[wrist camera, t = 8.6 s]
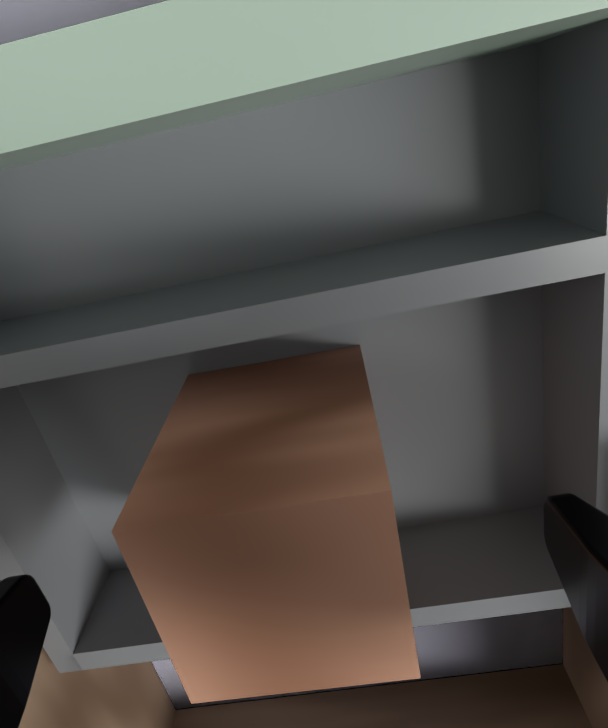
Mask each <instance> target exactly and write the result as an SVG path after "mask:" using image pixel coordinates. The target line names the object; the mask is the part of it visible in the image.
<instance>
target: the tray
mask: <svg viewBox="0 0 608 728" xmlns="http://www.w3.org/2000/svg"><path fill="white" fill-rule="evenodd" d="M357 345H360V347H361V352H362V356H363V361H364V366H365V370H366V375H367V379H368V384H369V389H370V393H371V398H372V403H373V407H374V412H375V416H376V421H377V426H378V430H379V435H380V440H381V444H382V449H383V453H384V458H385V463H386V467H387V472H388V477H389V481H390V486H391V491H392V497H393V503H394V510H395V516H396V523H397V529H398V535H399V542H400V548H401V555H402V561H403V567H404V574H405V580H406V587H407V593H408V599H409V606H410V612H411V619H412V625H413V627H421V626H428V625H436V624H444V623H452V622H459V621H467V620H475V619H482V618H490V617H498V616H506V615H513V614H521V613H529V612H537V611H544V610H552V609H560V608H568V607H571V605H570V603H569V600H568V598H567V595H566V593H565V590H564V588H563V586H562V583H561V581H560V578H559V576H558V573H557V571H556V569H555V566H554V564H553V561H552V559H551V556H550V554H549V552H548V549H547V546H546V543H545V538H544V508H543V504H544V500H545V498H546V497H547V496H550V495H557V494H564V493H571V494H574V495H576V496H578V497H579V498H581V499H583V500H584V501H586V502H587V503H589V504H591V505H592V506H594V507H596V508H597V509H599V510H601V511H602V512H604V513H606V514H607V515H608V0H168V1H164V2H160V3H156V4H152V5H149V6H145V7H141V8H137V9H133V10H130V11H126V12H122V13H118V14H115V15H111V16H107V17H103V18H99V19H96V20H92V21H88V22H84V23H80V24H77V25H73V26H69V27H65V28H62V29H58V30H54V31H50V32H46V33H43V34H39V35H35V36H31V37H27V38H24V39H20V40H16V41H12V42H9V43H5V44H1V45H0V580H1V581H2V580H3V579H5V578H7V577H11V576H17V575H24V574H27V575H31V576H32V577H33V578H34V579H35V580H36V582H37V584H38V585H39V587H40V589H41V590H42V592H43V594H44V595H45V597H46V599H47V601H48V602H49V604H50V608H51V618H50V622H49V626H48V630H47V633H46V637H45V640H44V644H43V648H44V649H45V651H46V652H47V654H48V656H49V657H50V659H51V660H52V662H53V664H54V665H55V667H56V668H57V670H58V671H59V673H65V672H73V671H80V670H88V669H96V668H103V667H111V666H119V665H127V664H134V663H142V662H150V661H158V660H165V659H170V657H169V654H168V652H167V650H166V648H165V646H164V644H163V642H162V639H161V637H160V635H159V633H158V631H157V629H156V626H155V624H154V622H153V620H152V618H151V616H150V614H149V611H148V609H147V607H146V605H145V603H144V601H143V598H142V596H141V594H140V592H139V590H138V588H137V586H136V583H135V581H134V579H133V577H132V575H131V573H130V570H129V568H128V566H127V564H126V562H125V560H124V557H123V555H122V553H121V551H120V549H119V547H118V545H117V542H116V540H115V538H114V536H113V534H112V532H111V531H112V529H113V527H114V525H115V523H116V521H117V519H118V517H119V515H120V513H121V511H122V509H123V507H124V505H125V503H126V500H127V498H128V496H129V494H130V492H131V490H132V488H133V486H134V484H135V482H136V480H137V478H138V476H139V474H140V472H141V470H142V468H143V466H144V464H145V462H146V460H147V458H148V456H149V454H150V452H151V449H152V447H153V445H154V443H155V441H156V439H157V437H158V435H159V433H160V431H161V429H162V427H163V425H164V423H165V421H166V419H167V417H168V415H169V413H170V411H171V409H172V407H173V405H174V403H175V400H176V398H177V396H178V394H179V392H180V390H181V388H182V386H183V384H184V382H185V380H186V378H187V376H188V375H191V374H196V373H202V372H208V371H214V370H219V369H225V368H231V367H237V366H242V365H248V364H254V363H260V362H265V361H271V360H277V359H282V358H288V357H294V356H300V355H305V354H311V353H317V352H323V351H328V350H334V349H340V348H346V347H351V346H357Z"/></svg>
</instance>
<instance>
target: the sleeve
mask: <svg viewBox="0 0 608 728" xmlns="http://www.w3.org/2000/svg"><path fill="white" fill-rule="evenodd" d="M0 582H1V580H0ZM18 728H608V682H607V680H606V678H605V677H604V675H603V673H602V671H601V669H600V667H599V666H598V664H597V662H596V660H595V658H594V656H593V654H592V652H591V650H590V648H589V646H588V644H587V642H586V641H585V638H584V636H583V634H582V631H581V629H580V627H579V624H578V622H577V620H576V617H575V615H574V612H573V610H572V607H568V608H563V664H559V665H551V666H543V667H534V668H526V669H517V670H509V671H500V672H492V673H484V674H475V675H467V676H458V677H450V678H441V679H433V680H425V681H416V682H408V683H399V684H391V685H382V686H374V687H366V688H357V689H349V690H340V691H332V692H323V693H315V694H307V695H298V696H290V697H281V698H273V699H264V700H256V701H248V702H239V703H231V704H222V705H214V706H206V707H197V708H189V709H180V710H175V708H174V706H173V704H172V702H171V700H170V698H169V696H168V694H167V692H166V690H165V688H164V686H163V684H162V682H161V680H160V678H159V676H158V674H157V672H156V670H155V668H154V666H153V664H152V662H151V661H150V662H142V663H134V664H127V665H119V666H111V667H103V668H96V669H88V670H80V671H73V672H65V673H59V671H58V670H57V668H56V667H55V665H54V664H53V662H52V660H51V659H50V657H49V656H48V654H47V652H46V651H45V649H44V648H42V651H41V655H40V658H39V662H38V666H37V669H36V673H35V676H34V680H33V684H32V687H31V691H30V694H29V697H28V701H27V704H26V707H25V710H24V713H23V716H22V719H21V722H20V725H19V727H18Z"/></svg>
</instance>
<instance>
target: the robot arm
mask: <svg viewBox="0 0 608 728" xmlns="http://www.w3.org/2000/svg"><path fill="white" fill-rule="evenodd" d="M543 508H544V538H545V543H546V546H547V549H548V552H549V554H550V556H551V559H552V561H553V564H554V566H555V569H556V571H557V573H558V576H559V578H560V581H561V583H562V586H563V588H564V590H565V593H566V595H567V598H568V600H569V603H570V605H571V607H572V610H573V612H574V615H575V617H576V620H577V622H578V624H579V627H580V629H581V631H582V634H583V636H584V638H585V641H586V642H587V644H588V646H589V648H590V650H591V652H592V654H593V656H594V658H595V660H596V662H597V664H598V666H599V667H600V669H601V671H602V673H603V675H604V677H605V678H606V680H607V682H608V515H607V514H606V513H604V512H602V511H601V510H599V509H597V508H596V507H594V506H592V505H591V504H589V503H587V502H586V501H584V500H583V499H581V498H579V497H578V496H576V495H574V494H571V493H564V494H557V495H550V496H547V497H546V498H545V500H544V504H543ZM50 618H51V608H50V604H49V602H48V601H47V599H46V597H45V595H44V594H43V592H42V590H41V589H40V587H39V585H38V584H37V582H36V580H35V579H34V578H33V577H32V576H31V575H27V574H24V575H17V576H11V577H7V578H5V579H3V580H2V581H1V582H0V728H18V727H19V725H20V722H21V719H22V716H23V713H24V710H25V707H26V704H27V701H28V697H29V694H30V691H31V687H32V684H33V680H34V676H35V673H36V669H37V666H38V662H39V658H40V655H41V651H42V648H43V644H44V640H45V637H46V633H47V630H48V626H49V622H50Z"/></svg>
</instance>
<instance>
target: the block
mask: <svg viewBox="0 0 608 728" xmlns="http://www.w3.org/2000/svg"><path fill="white" fill-rule="evenodd" d="M111 532H112V534H113V536H114V538H115V540H116V542H117V545H118V547H119V549H120V551H121V553H122V555H123V557H124V560H125V562H126V564H127V566H128V568H129V570H130V573H131V575H132V577H133V579H134V581H135V583H136V586H137V588H138V590H139V592H140V594H141V596H142V598H143V601H144V603H145V605H146V607H147V609H148V611H149V614H150V616H151V618H152V620H153V622H154V624H155V626H156V629H157V631H158V633H159V635H160V637H161V639H162V642H163V644H164V646H165V648H166V650H167V652H168V654H169V657H170V659H171V661H172V663H173V665H174V667H175V670H176V672H177V674H178V676H179V678H180V680H181V682H182V685H183V687H184V689H185V691H186V693H187V695H188V698H189V700H190V702H191V704H194V703H203V702H212V701H221V700H230V699H239V698H248V697H257V696H266V695H275V694H284V693H293V692H302V691H311V690H320V689H329V688H338V687H347V686H356V685H365V684H374V683H383V682H392V681H401V680H410V679H419V678H421V676H420V670H419V663H418V657H417V651H416V644H415V638H414V631H413V625H412V619H411V612H410V606H409V599H408V593H407V587H406V580H405V574H404V567H403V561H402V555H401V548H400V542H399V535H398V529H397V523H396V516H395V510H394V503H393V497H392V491H391V486H390V481H389V477H388V472H387V467H386V463H385V458H384V453H383V449H382V444H381V440H380V435H379V430H378V426H377V421H376V416H375V412H374V407H373V403H372V398H371V393H370V389H369V384H368V379H367V375H366V370H365V366H364V361H363V356H362V352H361V347H360V345H357V346H351V347H346V348H340V349H334V350H328V351H323V352H317V353H311V354H305V355H300V356H294V357H288V358H282V359H277V360H271V361H265V362H260V363H254V364H248V365H242V366H237V367H231V368H225V369H219V370H214V371H208V372H202V373H196V374H191V375H188V376H187V378H186V380H185V382H184V384H183V386H182V388H181V390H180V392H179V394H178V396H177V398H176V400H175V403H174V405H173V407H172V409H171V411H170V413H169V415H168V417H167V419H166V421H165V423H164V425H163V427H162V429H161V431H160V433H159V435H158V437H157V439H156V441H155V443H154V445H153V447H152V449H151V452H150V454H149V456H148V458H147V460H146V462H145V464H144V466H143V468H142V470H141V472H140V474H139V476H138V478H137V480H136V482H135V484H134V486H133V488H132V490H131V492H130V494H129V496H128V498H127V500H126V503H125V505H124V507H123V509H122V511H121V513H120V515H119V517H118V519H117V521H116V523H115V525H114V527H113V529H112V531H111Z"/></svg>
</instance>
